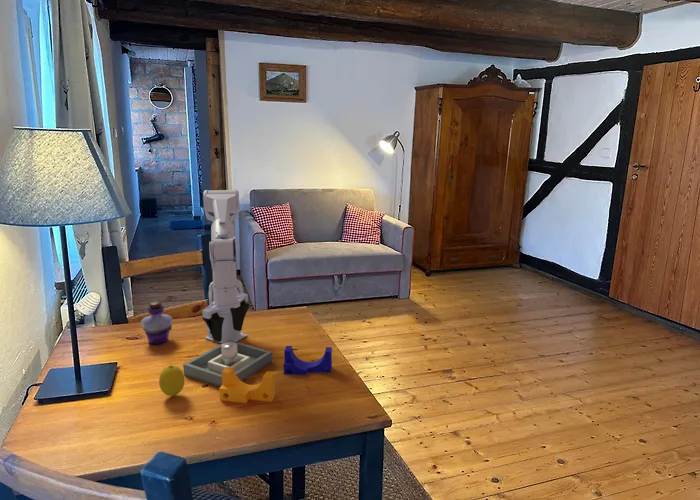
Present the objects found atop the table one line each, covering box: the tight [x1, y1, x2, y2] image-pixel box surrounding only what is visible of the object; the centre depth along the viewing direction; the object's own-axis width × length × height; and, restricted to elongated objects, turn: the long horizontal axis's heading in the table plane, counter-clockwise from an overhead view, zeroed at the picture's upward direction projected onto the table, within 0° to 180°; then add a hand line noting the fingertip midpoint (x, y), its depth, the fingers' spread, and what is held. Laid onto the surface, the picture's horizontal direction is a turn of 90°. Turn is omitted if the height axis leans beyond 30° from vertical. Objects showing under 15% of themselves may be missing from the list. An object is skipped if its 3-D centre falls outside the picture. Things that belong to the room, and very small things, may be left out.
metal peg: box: [221, 342, 238, 367], centre depth 130 cm, size 4×4×6 cm
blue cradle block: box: [283, 345, 333, 376], centre depth 130 cm, size 12×4×6 cm, turn 87°
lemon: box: [159, 364, 185, 398], centre depth 116 cm, size 6×6×8 cm
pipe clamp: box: [218, 367, 276, 404], centre depth 116 cm, size 12×4×6 cm, turn 80°
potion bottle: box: [140, 300, 173, 346], centre depth 145 cm, size 9×9×12 cm
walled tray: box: [182, 340, 273, 388], centre depth 130 cm, size 15×17×3 cm
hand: (227, 335), depth 128 cm, fingers open, 7 cm apart
